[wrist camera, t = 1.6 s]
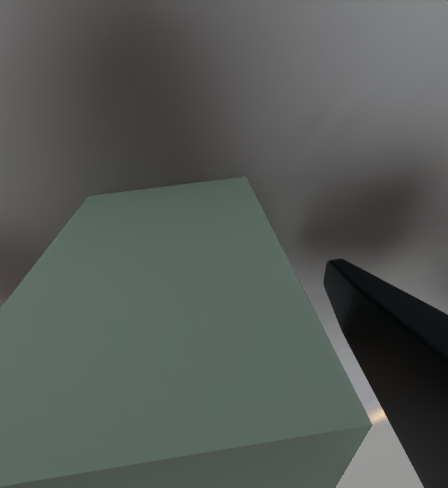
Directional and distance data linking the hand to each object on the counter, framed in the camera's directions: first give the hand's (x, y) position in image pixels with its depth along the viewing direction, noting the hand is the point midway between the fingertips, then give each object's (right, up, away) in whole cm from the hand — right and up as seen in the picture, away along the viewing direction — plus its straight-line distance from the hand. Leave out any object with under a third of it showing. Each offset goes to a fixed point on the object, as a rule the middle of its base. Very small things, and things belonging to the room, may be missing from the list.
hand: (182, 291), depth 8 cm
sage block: (0, +1, +2) cm, 2 cm away
